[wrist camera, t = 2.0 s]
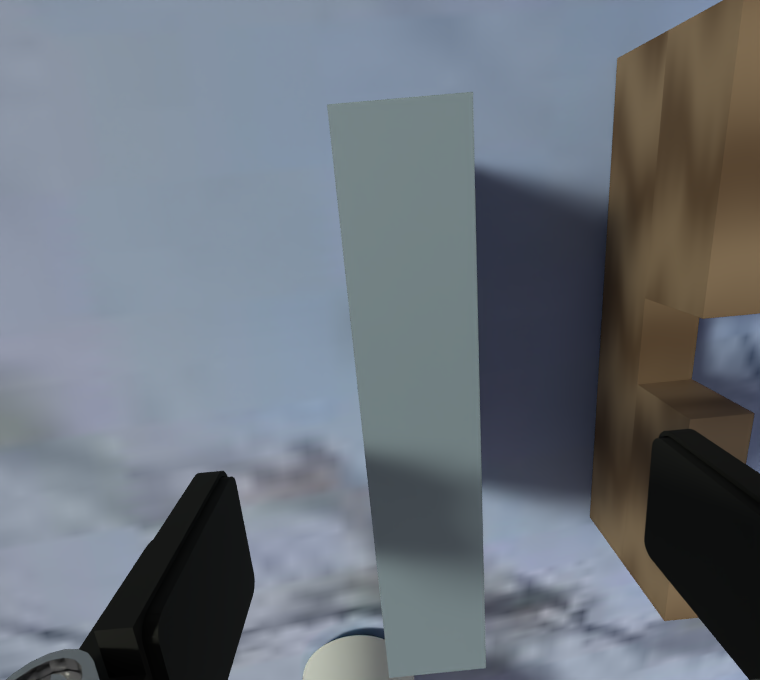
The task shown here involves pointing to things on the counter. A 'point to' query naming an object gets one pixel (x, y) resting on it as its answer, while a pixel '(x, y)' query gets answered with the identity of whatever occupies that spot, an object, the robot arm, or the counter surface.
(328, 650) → the can
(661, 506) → the robot arm
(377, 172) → the plain grey board
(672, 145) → the walnut slotted board
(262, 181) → the counter surface
